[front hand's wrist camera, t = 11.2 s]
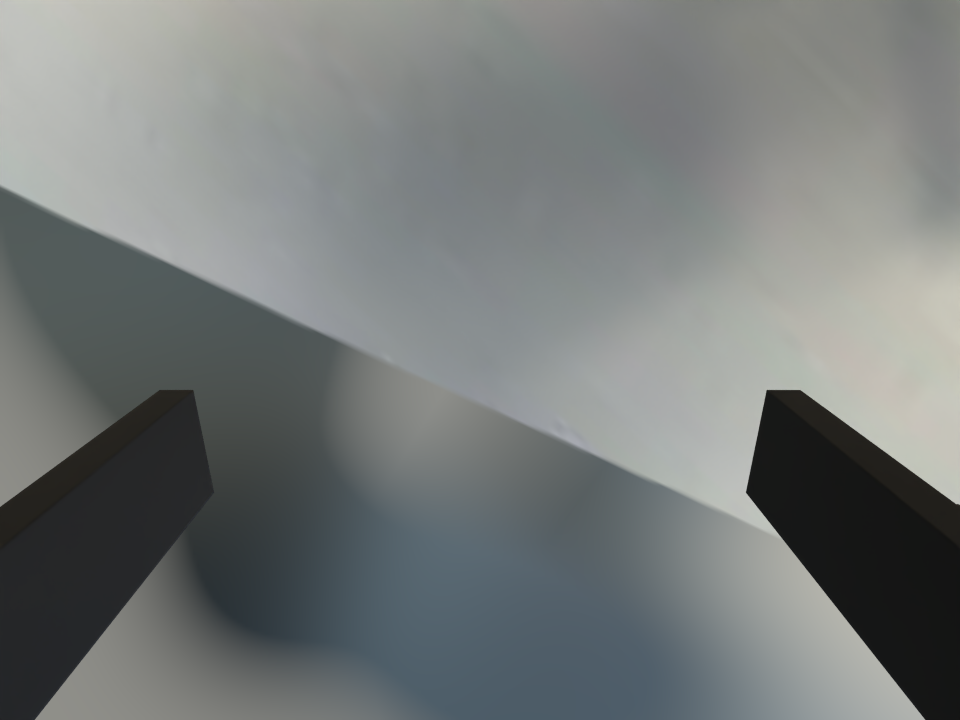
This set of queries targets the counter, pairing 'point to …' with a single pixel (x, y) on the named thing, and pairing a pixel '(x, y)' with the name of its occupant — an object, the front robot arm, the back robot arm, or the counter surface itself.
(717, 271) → the counter surface
